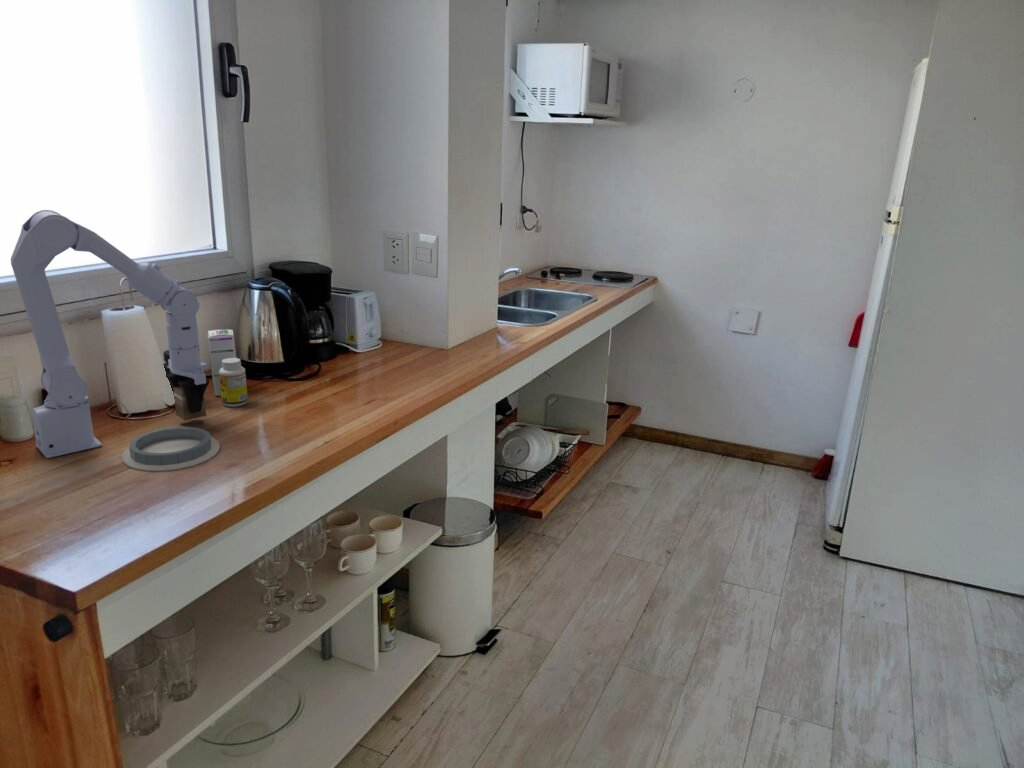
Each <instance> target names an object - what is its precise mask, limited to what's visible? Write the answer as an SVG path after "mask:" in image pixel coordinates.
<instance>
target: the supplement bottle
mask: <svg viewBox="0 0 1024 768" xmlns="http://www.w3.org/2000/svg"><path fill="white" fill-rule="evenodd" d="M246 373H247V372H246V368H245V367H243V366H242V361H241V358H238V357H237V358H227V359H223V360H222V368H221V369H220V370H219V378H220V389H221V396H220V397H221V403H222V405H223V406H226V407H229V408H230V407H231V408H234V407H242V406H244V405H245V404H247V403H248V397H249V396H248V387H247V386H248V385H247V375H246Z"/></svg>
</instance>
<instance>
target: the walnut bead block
mask: <svg viewBox="0 0 1024 768" xmlns="http://www.w3.org/2000/svg"><path fill="white" fill-rule="evenodd" d="M173 390H174V392H173V393H174V399H175V407H174V408H175V414H176V416H177V417H179V418H180V419H182V420H183V421H189V420H194V419H199V418H203V417H206V416H207V409H206V399H205V398H206V394H205V393H204V397H203V403H202V409H201V412H196V413H190V411H189V409H188V406H187V401H186V398H185V395H184V392H183V390H182V388H181V387H180V386H179V387H173Z"/></svg>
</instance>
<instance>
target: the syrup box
mask: <svg viewBox="0 0 1024 768" xmlns="http://www.w3.org/2000/svg"><path fill="white" fill-rule="evenodd" d="M207 344H208V351H209V361H210V362H209V363H210V369H211V370H210V371H211V378H212V387H213V395H214V397H217V396H218V397H219V396H220V397H221V389H220V378H219V370H220V369H221V368H222V360H223V359H227V358H238V355H237V352H236V351H237V350H236V343H235V335H234V330H233V328H226V329H225V328H220V329H212V330H208V331H207Z"/></svg>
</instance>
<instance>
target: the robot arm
mask: <svg viewBox="0 0 1024 768" xmlns="http://www.w3.org/2000/svg"><path fill="white" fill-rule="evenodd" d="M70 248H71V249H72V250H74V251H76V252H84V253H85V252H86V253H91V254H92V255H94V256H96V257H97V258H99V259H100V260H101V261H103V262H104V263H107V264H108V265H109V266H111V267H113V268H115V269H116V270H118V272H121V273H122V274H123V275H125V277H126V280H127V284H128V286H129V287H130V288H132V289H133V290H135V291H136V292H138V293H139V294H141V295H142V296H144V297H145V298H147V299H148V300H150V301H152V303H154V304H155V305H158V306H160V307H161V308H162V310H163V311H167V312H165V318H166V333H167V334H166V335H167V342H168V350H169V354H170V359H169V360H168V364H169V368H170V372H171V373H170V374H167V375H166V377H167V378H168V380H169V381H170V383H171V384H172V386H173V387H179V386H180V387H181V388H182V390H183V392H184V395H185V398H186V401H187V406H188V409H189V411H190V413H196V412H201V409H202V403H203V397H204V394H205V393H206V390H207V387H208V386H209V384H210V380H209V378H207V377H206V373H205V372H204V369H207V368H208V364H207V363H206V362H202V358H201V350H200V341H199V330H198V329H199V328H198V322H197V313H198V312H199V310H200V306H201V305H200V302H198V299H197V296H196V295H195V294H194V293H193V292H192V291H190V290H188V289H186V288H185V287H184V286H183V285H182V282H181V281H180V280H178V279H172V278H171V277H170V276H168V275H167V274H165V273H164V272H162V271H161V267H160V266H159V265H158V264H156V262H155V263H152V264H151V263H149V261H142V262H136V261H134V260H133V259H132V258H130V257H129V256H128V255H127V254H126V253H124V252H122V251H121V250H119V249H118V248H117V247H115V246H114V245H113V244H112V243H110V242H108V241H107V240H106V239H105V238H103V237H101V236H100V235H99V234H98V233H96V232H95V231H93V230H91V229H89V228H87V227H85V226H83V225H81V224H79V223H77V222H74V221H73V220H71V219H69V218H68V217H66V216H64V215H62V214H60V213H59V212H56V211H54V210H51V209H50V210H49V209H42V210H38V211H36V212H34V213H33V214H32V215H31V216H30V217H29V218H28V219H27V220H25V222H24V223H23V224H22V226H21V230H20V234H19V237H18V239H17V241H16V243H15V246H14V250H13V252H12V254H11V256H10V264H11V265H10V266H11V268H12V271H13V274H14V277H15V280H16V284H17V287H18V290H19V293H20V297H21V300H22V302H23V303H22V304H23V306H24V309H25V311H26V315H27V319H28V321H29V324H30V328H31V332H32V334H33V337H34V341H35V344H36V347H37V349H38V353H39V359H40V363H41V367H42V372H41V375H40V382H41V385H42V386H43V388H44V389H45V391H47V392H46V393H47V395H46V397H45V399H44V400H43V404H42V405H40V406H37V407H34V408H32V409H31V419H32V420H31V421H32V425H33V432H34V437H35V447H36V448H37V449H38V450H39V452H41V454H43V456H44V457H45V458H46V459H50V458H55V457H59V456H63V455H67V454H68V455H69V454H71V453H72V454H73V453H75V452H81V451H82V452H83V451H86V450H90V449H95V448H99V447H101V446H102V442H101V441H100V440H99V439H98V438H96V436H95V434H94V428H93V423H92V415H91V409H90V402H89V396H88V395H87V394H88V384H87V382H86V381H85V379H83V377H82V376H80V374H79V372H78V371H77V369H76V366H75V363H74V361H73V360H74V359H73V358H72V356H71V353H70V350H69V348H68V347H69V346H68V345H67V341H66V337H65V334H64V331H63V328H62V327H63V326H62V323H61V321H60V316H59V314H58V310H57V308H56V304H55V301H54V298H53V294H52V291H51V288H50V284H49V281H48V277H47V273H46V271H45V270H46V268H48V266H49V265H50V264H51V263H52V261H53V260H54V259H55V257H57V256H58V255H60V254H62V253H64V252H65V251H67V250H69V249H70Z"/></svg>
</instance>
